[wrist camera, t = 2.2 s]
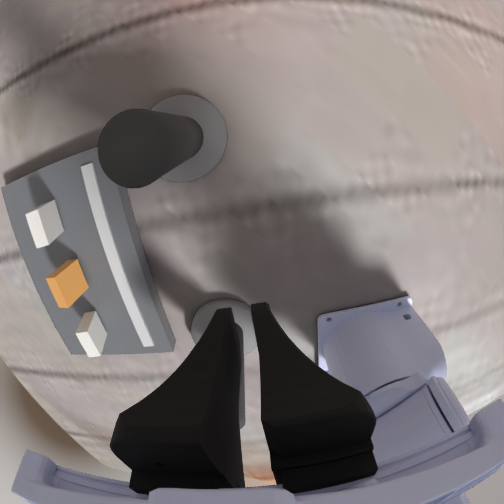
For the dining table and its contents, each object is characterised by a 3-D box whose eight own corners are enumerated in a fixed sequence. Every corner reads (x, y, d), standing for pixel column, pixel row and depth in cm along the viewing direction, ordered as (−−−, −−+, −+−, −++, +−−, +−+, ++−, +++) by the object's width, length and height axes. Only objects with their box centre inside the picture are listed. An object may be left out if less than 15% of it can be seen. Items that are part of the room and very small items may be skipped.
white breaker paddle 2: (95, 310, 22) (87, 331, 19) (107, 334, 23) (100, 355, 20) (84, 312, 22) (75, 333, 19) (96, 335, 23) (89, 357, 20)
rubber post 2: (255, 293, 24) (262, 389, 15) (264, 346, 26) (273, 438, 17) (184, 303, 24) (160, 396, 15) (201, 354, 26) (190, 443, 17)
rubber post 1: (219, 88, 17) (199, 52, 8) (233, 171, 20) (227, 211, 11) (136, 108, 17) (56, 100, 8) (152, 187, 20) (88, 238, 11)
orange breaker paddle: (77, 258, 20) (54, 277, 17) (88, 287, 21) (68, 308, 18) (68, 259, 20) (45, 278, 17) (79, 287, 21) (59, 307, 18)
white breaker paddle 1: (54, 199, 18) (37, 209, 15) (64, 231, 19) (49, 244, 16) (43, 203, 18) (25, 214, 15) (52, 234, 19) (36, 248, 16)
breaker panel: (116, 141, 18) (106, 143, 17) (175, 340, 26) (172, 353, 24) (11, 183, 19) (-1, 188, 17) (76, 345, 26) (70, 355, 24)
